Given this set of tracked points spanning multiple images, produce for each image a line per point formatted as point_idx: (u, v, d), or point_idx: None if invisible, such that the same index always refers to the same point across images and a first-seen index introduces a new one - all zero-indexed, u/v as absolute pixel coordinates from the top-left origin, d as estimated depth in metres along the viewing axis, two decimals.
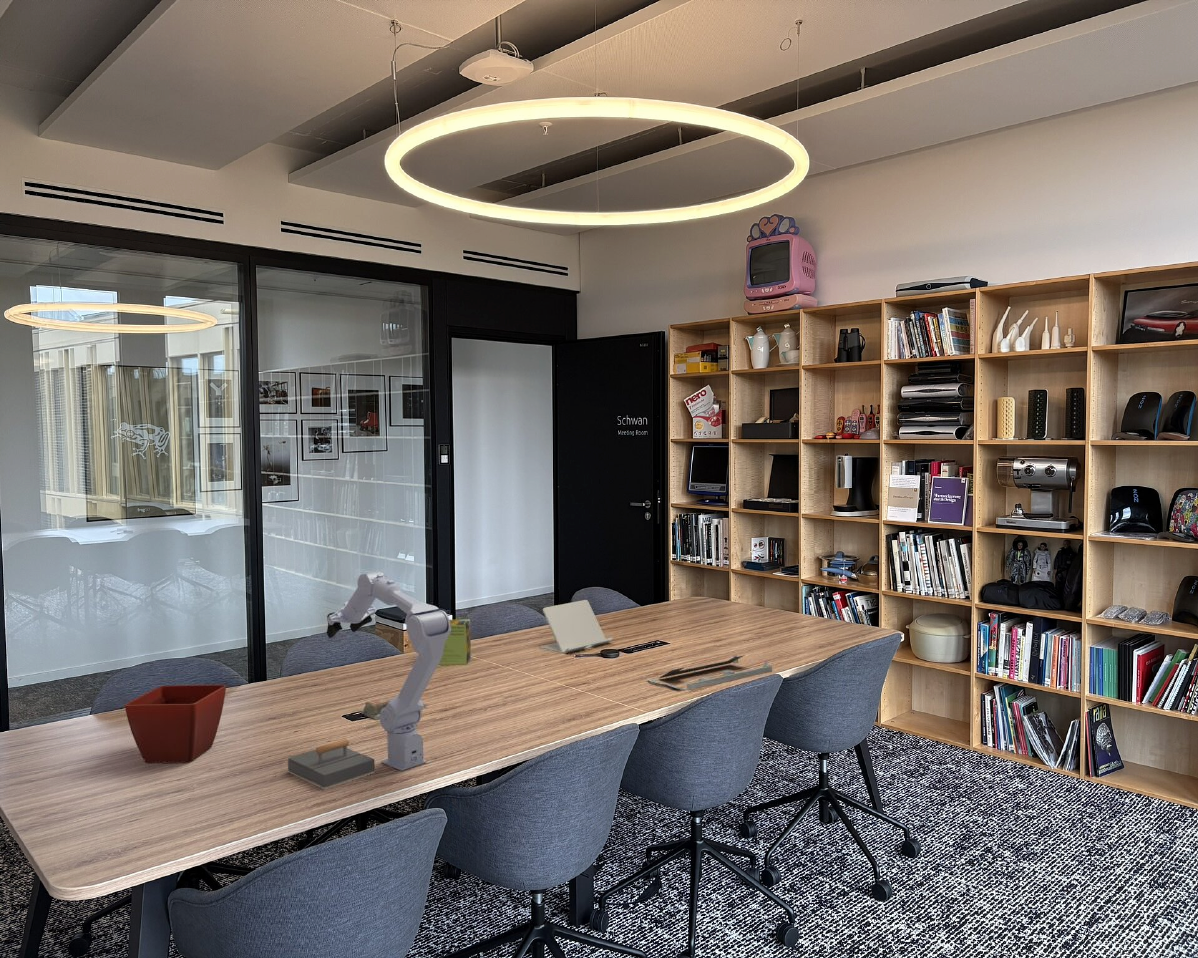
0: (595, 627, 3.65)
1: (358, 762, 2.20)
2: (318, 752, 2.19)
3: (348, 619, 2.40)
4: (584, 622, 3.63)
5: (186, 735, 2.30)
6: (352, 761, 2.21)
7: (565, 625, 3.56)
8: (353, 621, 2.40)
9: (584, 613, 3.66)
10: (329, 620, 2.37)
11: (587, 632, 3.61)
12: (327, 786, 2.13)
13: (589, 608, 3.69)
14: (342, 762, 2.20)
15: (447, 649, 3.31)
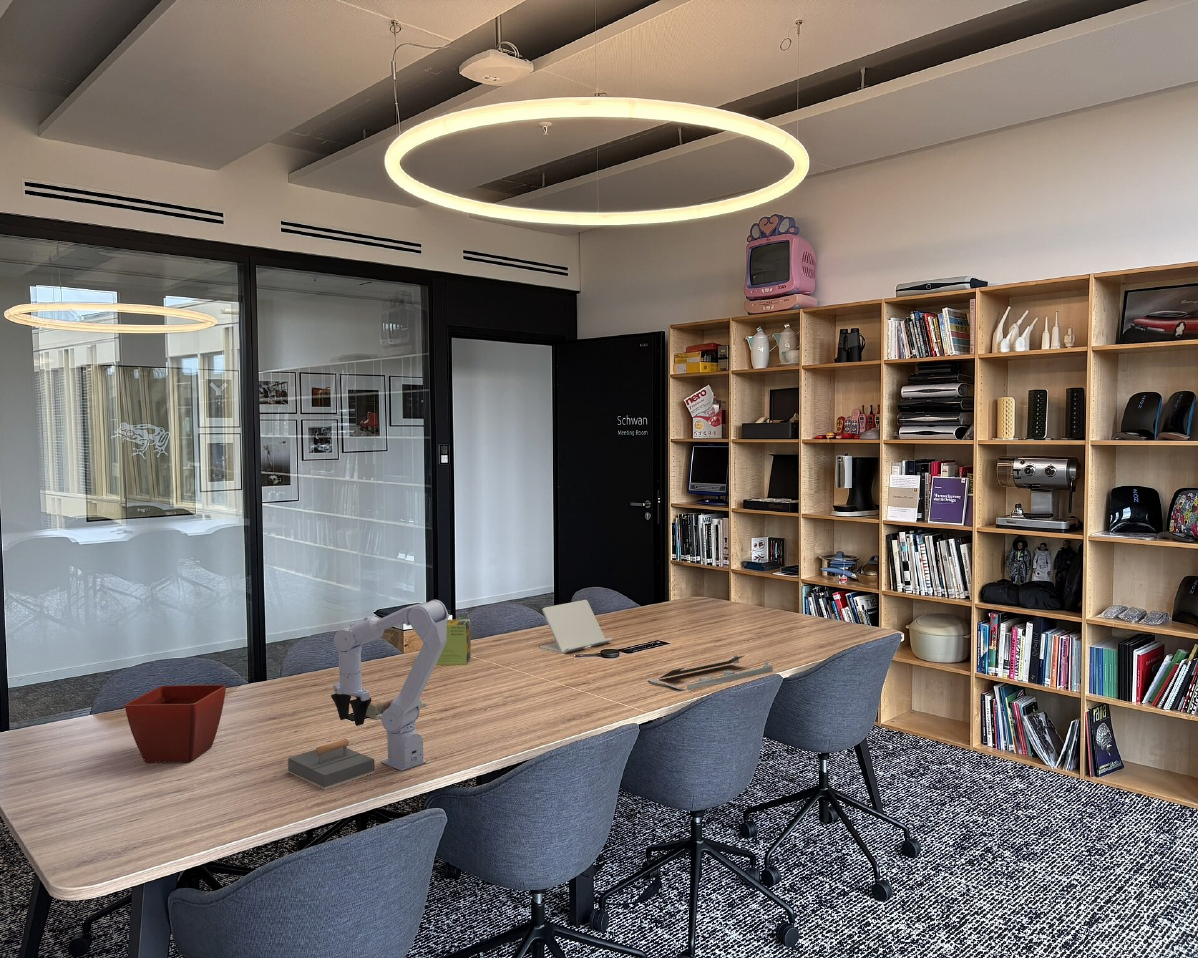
0: (595, 627, 3.65)
1: (358, 762, 2.20)
2: (318, 752, 2.19)
3: (361, 688, 2.34)
4: (584, 622, 3.63)
5: (186, 735, 2.30)
6: (352, 761, 2.21)
7: (565, 625, 3.56)
8: None
9: (584, 613, 3.66)
10: (365, 696, 2.29)
11: (587, 632, 3.61)
12: (327, 786, 2.13)
13: (589, 608, 3.70)
14: (342, 762, 2.20)
15: (447, 649, 3.31)
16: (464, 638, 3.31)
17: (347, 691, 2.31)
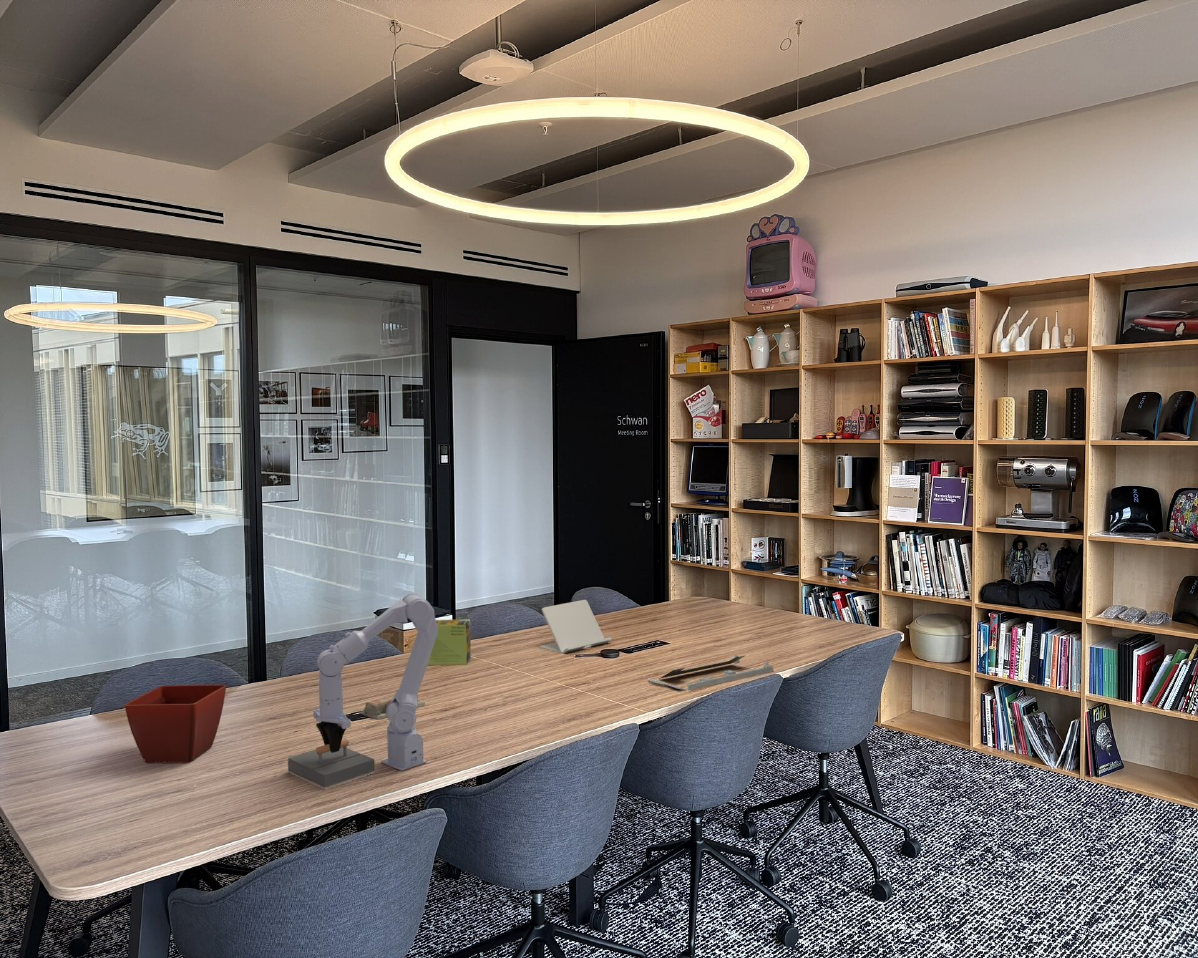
0: (594, 627, 3.65)
1: (358, 762, 2.20)
2: (318, 752, 2.19)
3: (342, 715, 2.22)
4: (583, 622, 3.63)
5: (186, 735, 2.30)
6: (352, 761, 2.21)
7: (564, 625, 3.56)
8: (343, 713, 2.23)
9: (583, 613, 3.66)
10: (347, 724, 2.17)
11: (586, 632, 3.61)
12: (327, 786, 2.13)
13: (588, 608, 3.70)
14: (342, 762, 2.20)
15: (447, 649, 3.31)
16: (464, 638, 3.31)
17: (327, 718, 2.19)
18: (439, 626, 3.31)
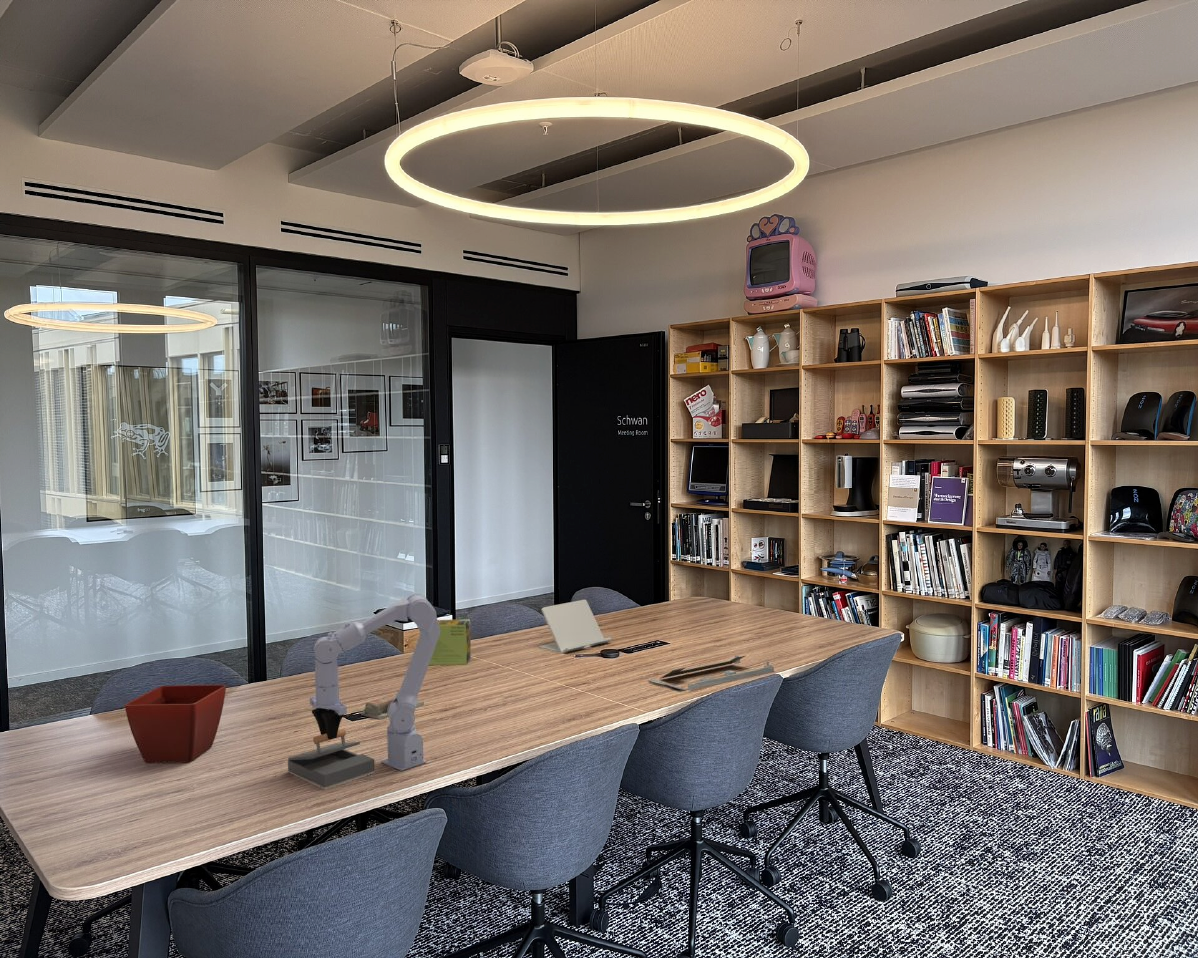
0: (594, 627, 3.66)
1: (358, 762, 2.20)
2: (315, 741, 2.20)
3: (338, 701, 2.23)
4: (583, 622, 3.64)
5: (186, 735, 2.30)
6: (352, 761, 2.21)
7: (564, 625, 3.56)
8: (339, 700, 2.24)
9: (583, 613, 3.66)
10: (343, 710, 2.19)
11: (586, 632, 3.61)
12: (327, 786, 2.13)
13: (588, 608, 3.70)
14: (342, 762, 2.20)
15: (447, 649, 3.31)
16: (464, 638, 3.31)
17: (324, 705, 2.20)
18: (439, 626, 3.31)
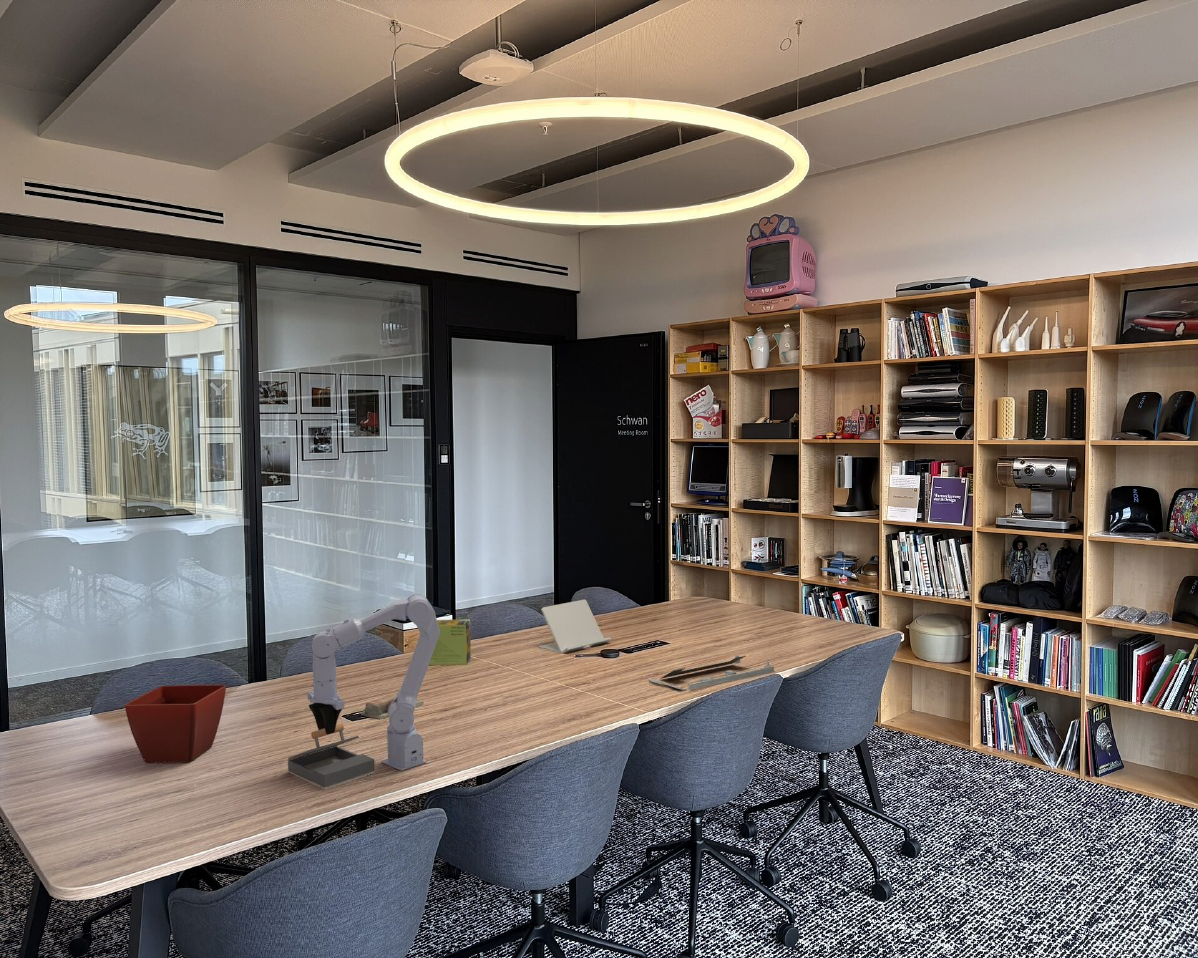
0: (593, 627, 3.66)
1: (358, 762, 2.20)
2: (313, 736, 2.21)
3: (336, 696, 2.24)
4: (583, 621, 3.64)
5: (186, 735, 2.30)
6: (352, 761, 2.21)
7: (563, 625, 3.56)
8: (337, 695, 2.25)
9: (582, 613, 3.67)
10: (340, 705, 2.19)
11: (585, 632, 3.61)
12: (327, 786, 2.13)
13: (588, 608, 3.70)
14: (342, 762, 2.20)
15: (447, 649, 3.31)
16: (464, 638, 3.31)
17: (321, 700, 2.21)
18: (439, 626, 3.31)
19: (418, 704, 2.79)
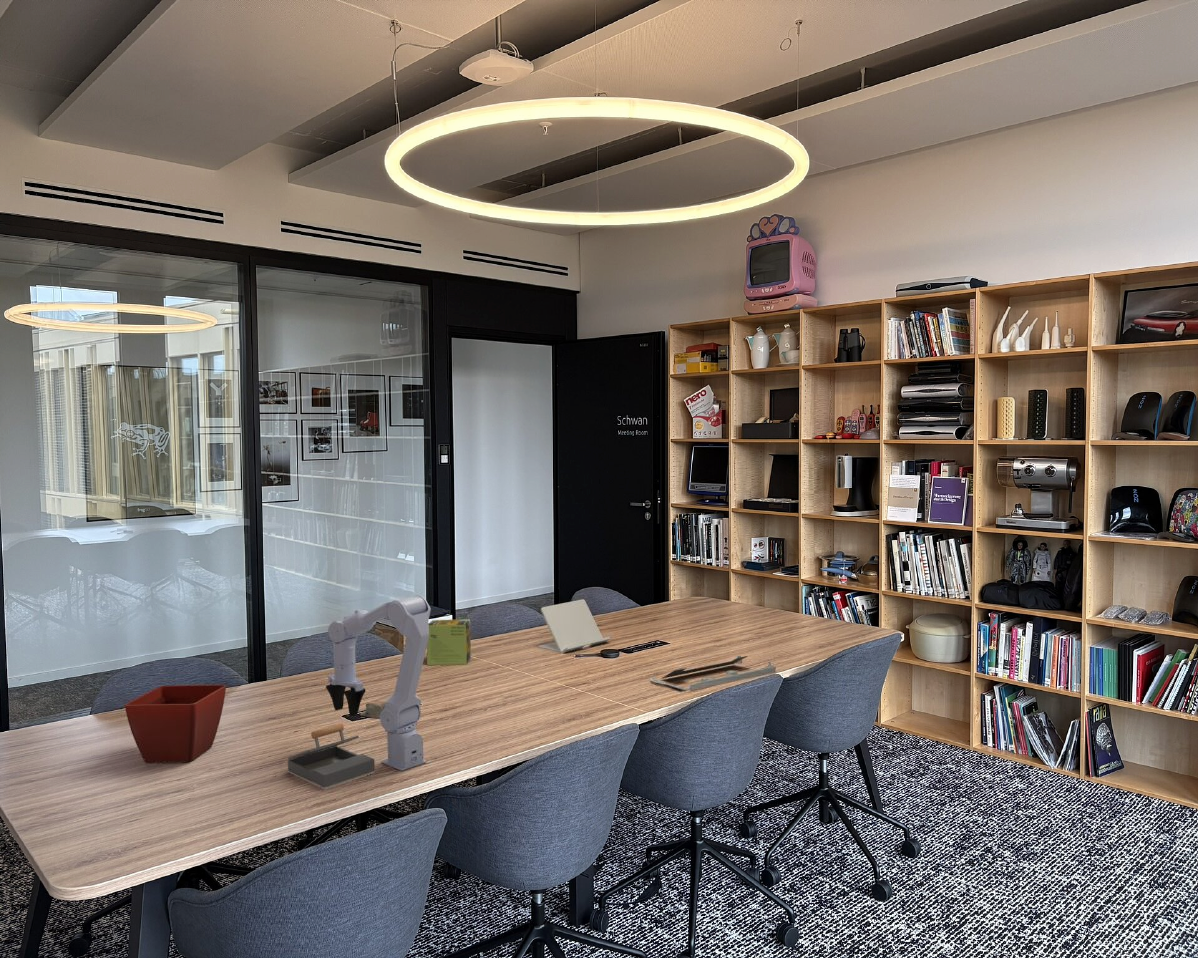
0: (592, 626, 3.66)
1: (358, 762, 2.20)
2: (313, 736, 2.21)
3: (355, 679, 2.39)
4: (582, 621, 3.64)
5: (186, 735, 2.30)
6: (352, 761, 2.21)
7: (563, 624, 3.57)
8: None
9: (581, 612, 3.67)
10: (359, 687, 2.35)
11: (585, 631, 3.62)
12: (327, 786, 2.13)
13: (586, 607, 3.71)
14: (342, 762, 2.20)
15: (447, 649, 3.31)
16: (464, 638, 3.31)
17: (341, 682, 2.37)
18: (439, 626, 3.31)
19: None
